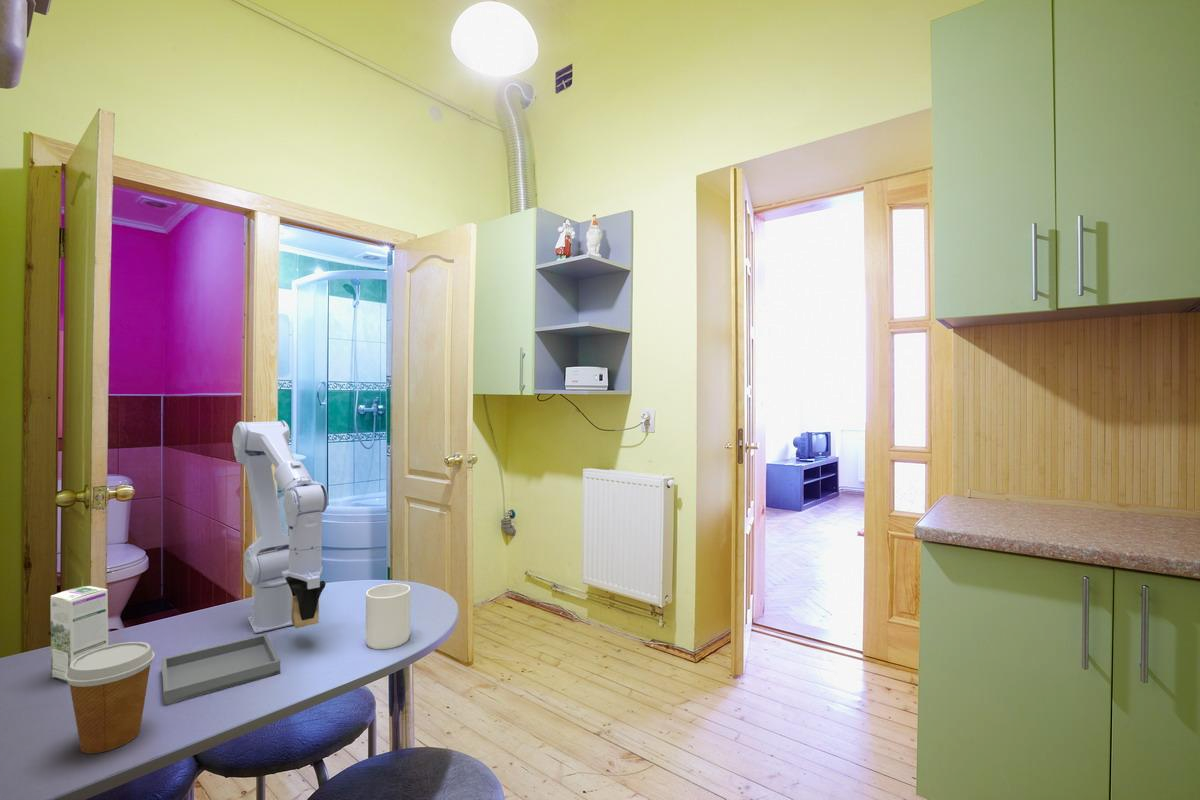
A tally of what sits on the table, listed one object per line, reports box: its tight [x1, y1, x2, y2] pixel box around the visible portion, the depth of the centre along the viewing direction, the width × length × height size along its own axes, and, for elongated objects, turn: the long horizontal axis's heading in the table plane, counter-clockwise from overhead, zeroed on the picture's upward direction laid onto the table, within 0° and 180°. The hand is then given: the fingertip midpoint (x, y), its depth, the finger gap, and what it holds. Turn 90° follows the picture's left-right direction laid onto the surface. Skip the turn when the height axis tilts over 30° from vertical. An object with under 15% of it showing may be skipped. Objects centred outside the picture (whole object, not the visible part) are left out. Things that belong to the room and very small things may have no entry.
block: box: [291, 596, 320, 629], centre depth 108 cm, size 4×4×5 cm
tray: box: [161, 633, 281, 706], centre depth 96 cm, size 14×16×2 cm
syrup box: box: [50, 585, 109, 682], centre depth 96 cm, size 6×6×14 cm
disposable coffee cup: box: [65, 641, 156, 754], centre depth 77 cm, size 10×10×12 cm
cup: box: [365, 582, 411, 650], centre depth 111 cm, size 8×12×10 cm
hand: (305, 614), depth 108 cm, fingers closed on block, 4 cm apart
